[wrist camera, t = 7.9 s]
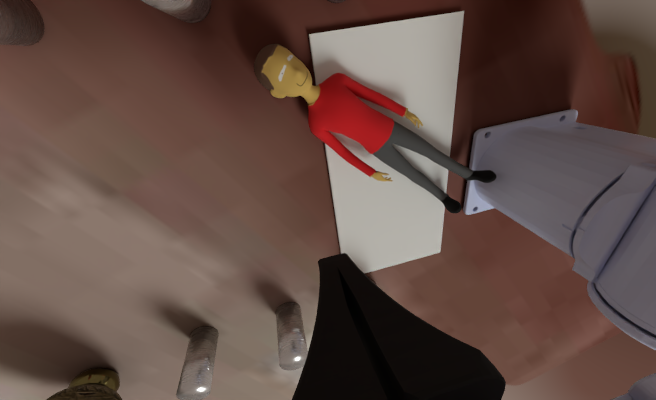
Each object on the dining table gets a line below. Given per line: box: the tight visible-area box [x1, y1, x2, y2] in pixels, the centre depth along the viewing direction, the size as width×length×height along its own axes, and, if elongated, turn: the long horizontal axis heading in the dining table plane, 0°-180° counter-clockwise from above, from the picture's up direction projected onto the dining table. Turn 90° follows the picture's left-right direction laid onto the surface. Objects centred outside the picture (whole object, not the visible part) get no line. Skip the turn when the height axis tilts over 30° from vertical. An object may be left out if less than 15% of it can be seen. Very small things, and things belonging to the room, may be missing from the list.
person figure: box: [254, 44, 496, 213], centre depth 18 cm, size 5×4×18 cm
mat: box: [309, 11, 464, 273], centre depth 21 cm, size 10×20×1 cm, turn 8°
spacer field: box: [0, 0, 376, 400], centre depth 18 cm, size 18×27×5 cm
